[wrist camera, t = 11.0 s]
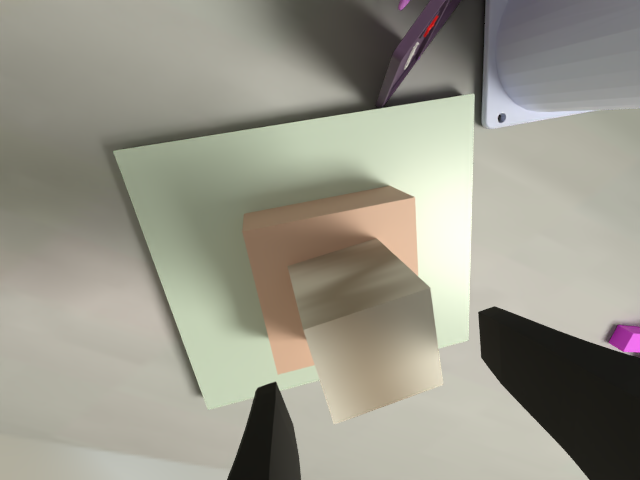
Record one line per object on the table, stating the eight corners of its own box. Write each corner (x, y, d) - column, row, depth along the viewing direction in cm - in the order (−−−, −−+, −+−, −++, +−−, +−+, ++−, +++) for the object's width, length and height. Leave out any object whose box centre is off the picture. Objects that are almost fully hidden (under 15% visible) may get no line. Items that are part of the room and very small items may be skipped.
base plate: (463, 95, 18) (474, 93, 17) (459, 332, 24) (468, 340, 23) (121, 149, 16) (112, 150, 15) (209, 397, 21) (207, 410, 20)
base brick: (389, 185, 18) (415, 197, 15) (398, 308, 21) (420, 337, 18) (243, 213, 17) (242, 231, 14) (274, 339, 20) (277, 374, 17)
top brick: (376, 238, 15) (430, 287, 11) (391, 313, 17) (443, 384, 12) (287, 266, 15) (303, 329, 10) (311, 340, 17) (334, 424, 12)
